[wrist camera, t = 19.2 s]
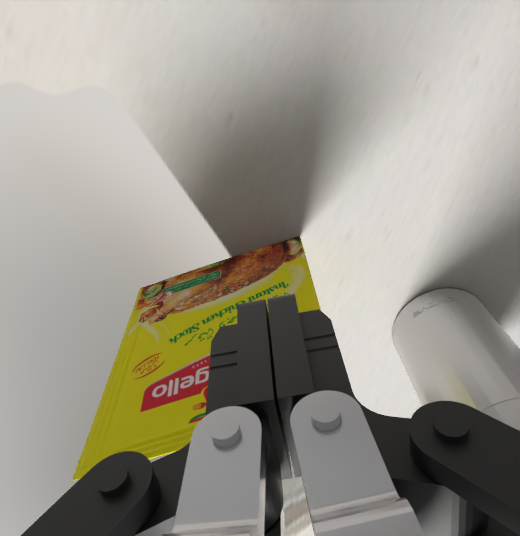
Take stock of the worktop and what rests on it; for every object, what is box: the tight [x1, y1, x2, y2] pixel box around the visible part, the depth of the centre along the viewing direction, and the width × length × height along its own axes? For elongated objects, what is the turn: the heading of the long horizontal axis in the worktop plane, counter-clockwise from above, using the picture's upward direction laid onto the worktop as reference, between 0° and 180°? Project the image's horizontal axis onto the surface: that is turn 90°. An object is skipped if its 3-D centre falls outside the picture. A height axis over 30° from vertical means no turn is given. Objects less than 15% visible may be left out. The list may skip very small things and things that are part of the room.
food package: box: [73, 236, 321, 481], centre depth 33 cm, size 15×1×20 cm, turn 109°
